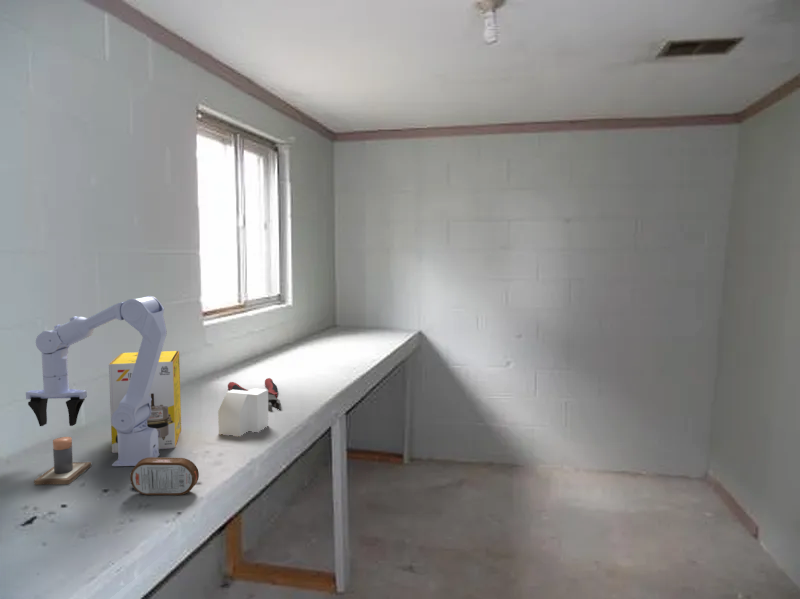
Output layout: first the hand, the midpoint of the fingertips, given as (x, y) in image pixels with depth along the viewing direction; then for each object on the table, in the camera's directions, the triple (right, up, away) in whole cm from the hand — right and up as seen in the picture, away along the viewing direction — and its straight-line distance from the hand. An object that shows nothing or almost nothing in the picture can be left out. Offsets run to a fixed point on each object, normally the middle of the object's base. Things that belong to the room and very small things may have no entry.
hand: (58, 424), depth 147 cm
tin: (+36, -12, -18) cm, 42 cm away
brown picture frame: (+7, -10, -9) cm, 16 cm away
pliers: (+36, -5, +62) cm, 72 cm away
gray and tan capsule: (+7, -9, -9) cm, 15 cm away
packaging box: (+17, -8, +16) cm, 25 cm away
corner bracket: (+42, -8, +26) cm, 50 cm away
